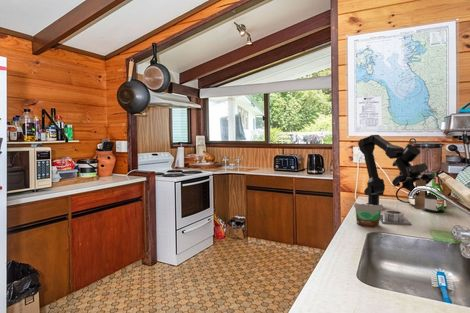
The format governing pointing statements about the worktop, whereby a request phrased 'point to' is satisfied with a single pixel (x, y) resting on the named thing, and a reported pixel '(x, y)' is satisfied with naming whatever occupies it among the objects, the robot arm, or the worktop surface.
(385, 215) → the bracket
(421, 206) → the brown wooden cylinder
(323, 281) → the worktop surface
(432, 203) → the spread jar
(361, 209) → the food container
